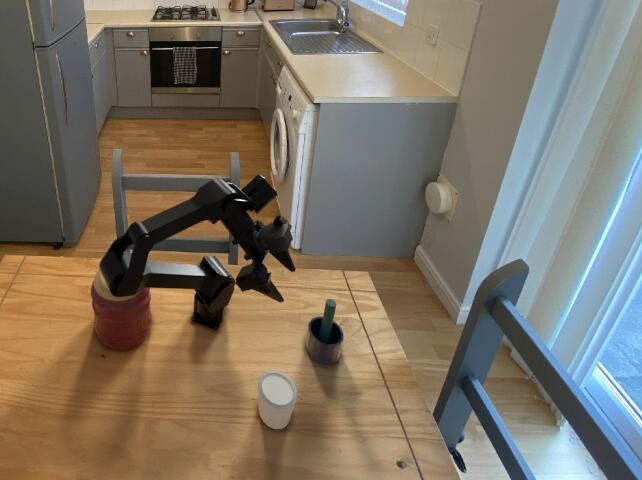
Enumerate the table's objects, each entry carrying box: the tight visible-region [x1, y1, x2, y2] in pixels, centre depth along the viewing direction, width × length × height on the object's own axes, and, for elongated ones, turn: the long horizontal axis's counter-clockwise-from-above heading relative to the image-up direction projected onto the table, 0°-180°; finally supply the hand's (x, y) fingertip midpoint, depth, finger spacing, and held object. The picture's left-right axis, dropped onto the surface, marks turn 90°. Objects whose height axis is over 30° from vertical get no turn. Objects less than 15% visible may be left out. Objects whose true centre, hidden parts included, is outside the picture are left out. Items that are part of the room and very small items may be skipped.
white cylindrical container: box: [257, 369, 298, 430], centre depth 77 cm, size 7×7×7 cm
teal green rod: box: [319, 298, 337, 344], centre depth 87 cm, size 2×2×13 cm
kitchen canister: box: [90, 269, 152, 351], centre depth 93 cm, size 13×13×18 cm
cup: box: [304, 316, 345, 365], centre depth 89 cm, size 7×7×6 cm
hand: (288, 285), depth 89 cm, fingers open, 9 cm apart
